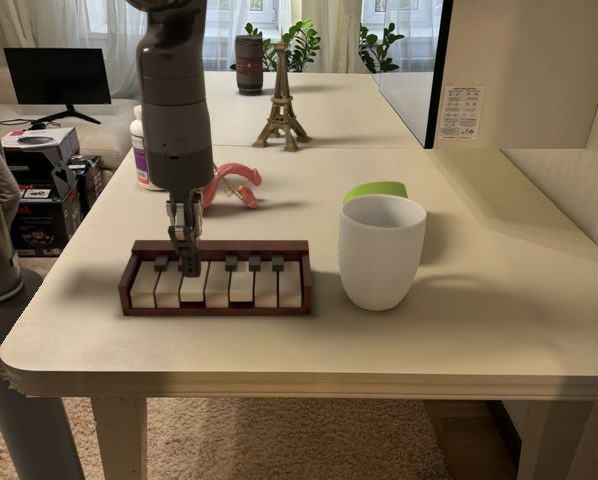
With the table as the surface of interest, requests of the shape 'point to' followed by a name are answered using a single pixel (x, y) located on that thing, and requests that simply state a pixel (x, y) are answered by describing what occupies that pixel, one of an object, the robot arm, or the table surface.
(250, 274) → the key
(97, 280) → the table surface
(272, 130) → the eiffel tower
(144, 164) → the pill bottle
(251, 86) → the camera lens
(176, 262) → the piano
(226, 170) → the anatomy model
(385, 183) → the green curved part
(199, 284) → the key
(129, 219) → the table surface
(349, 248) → the mug
